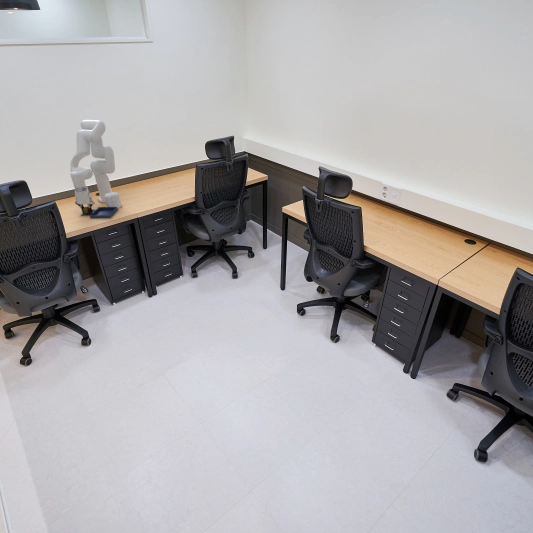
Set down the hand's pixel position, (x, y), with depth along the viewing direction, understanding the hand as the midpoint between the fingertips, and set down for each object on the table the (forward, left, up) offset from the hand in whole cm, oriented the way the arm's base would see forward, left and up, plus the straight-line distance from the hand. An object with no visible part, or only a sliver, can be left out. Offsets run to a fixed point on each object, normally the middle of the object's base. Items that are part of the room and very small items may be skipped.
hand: (87, 212), depth 262 cm
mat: (-1, 0, -1) cm, 1 cm away
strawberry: (-1, 0, 0) cm, 1 cm away
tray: (+1, +13, -1) cm, 13 cm away
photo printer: (-11, +16, -1) cm, 19 cm away
